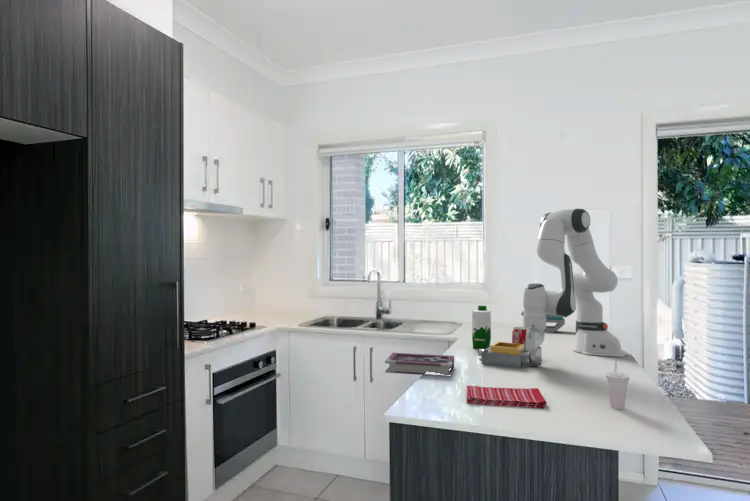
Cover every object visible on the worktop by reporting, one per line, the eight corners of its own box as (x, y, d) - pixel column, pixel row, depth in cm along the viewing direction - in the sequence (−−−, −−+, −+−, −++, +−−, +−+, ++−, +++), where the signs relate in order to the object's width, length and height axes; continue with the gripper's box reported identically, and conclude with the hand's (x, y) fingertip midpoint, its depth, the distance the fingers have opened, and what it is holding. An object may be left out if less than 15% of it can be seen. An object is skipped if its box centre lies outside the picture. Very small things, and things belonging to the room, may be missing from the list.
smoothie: (601, 404, 148) (601, 358, 148) (621, 404, 149) (621, 358, 149) (613, 411, 142) (613, 363, 142) (634, 410, 142) (634, 363, 142)
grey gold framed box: (527, 361, 206) (527, 343, 206) (520, 368, 194) (520, 349, 194) (481, 356, 216) (481, 339, 216) (472, 362, 204) (472, 344, 204)
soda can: (529, 356, 217) (529, 329, 217) (512, 355, 218) (512, 328, 218) (527, 353, 224) (527, 327, 224) (511, 352, 225) (511, 326, 225)
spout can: (542, 363, 199) (542, 346, 199) (540, 366, 194) (540, 348, 194) (526, 361, 202) (526, 345, 202) (524, 364, 197) (524, 347, 197)
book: (384, 373, 186) (385, 360, 186) (392, 364, 202) (392, 352, 202) (451, 378, 181) (451, 364, 181) (454, 367, 196) (454, 355, 196)
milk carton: (491, 346, 239) (492, 305, 239) (489, 349, 231) (489, 307, 231) (474, 345, 242) (474, 305, 242) (470, 348, 234) (470, 307, 234)
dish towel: (547, 410, 144) (547, 401, 144) (466, 405, 148) (466, 396, 148) (539, 394, 161) (539, 386, 161) (466, 390, 165) (466, 382, 165)
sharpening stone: (566, 331, 285) (566, 313, 285) (566, 333, 278) (566, 314, 278) (521, 329, 294) (522, 311, 294) (521, 331, 286) (521, 312, 286)
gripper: (538, 328, 187) (538, 363, 187) (546, 320, 205) (547, 353, 205) (521, 326, 190) (521, 362, 190) (531, 319, 208) (531, 352, 208)
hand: (534, 357), depth 198 cm, fingers closed on spout can, 5 cm apart
